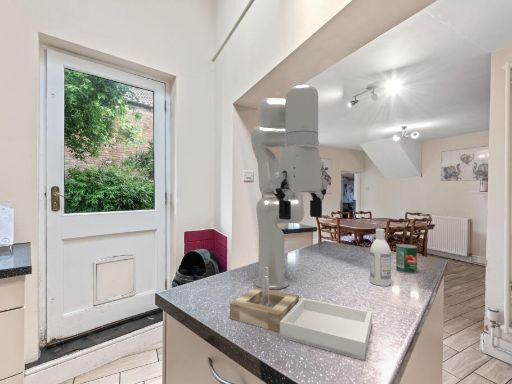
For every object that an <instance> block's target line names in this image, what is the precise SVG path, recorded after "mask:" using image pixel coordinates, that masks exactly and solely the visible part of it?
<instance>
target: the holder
mask: <svg viewBox="0 0 512 384" xmlns="http://www.w3.org/2000/svg"><path fill="white" fill-rule="evenodd" d="M262 296H263V288H260V287H257V286H255V287H253V288H251V289H250V290H248V291H247V292H245V293H243V294H242V295H241V296H239V297H238V298H236V299H234V300H233V301H231V302H230V303H229V319H230V320H232V321H237V322H241V323H244V324H249V325H251V326H255V327H259V328H263V329H267V330H271V331H274V332H277V333H280V321H281V320H282V319H283V318H284V317H285V316H286V315H287V313H288V312H289V311H290V310H291V309H292V308H293V307H294V306H295V305H296V304H297V303H298V302H299V301H300V297H299V296H300V295H299V294H294V293H287V292H282V291H278V290H274V289H269V302H270V303H272V304H273V305H274V307H273V308H272V307H268V306H263V305H259V303H261V302H263V301H262V300H263V299H262V298H263V297H262Z"/></svg>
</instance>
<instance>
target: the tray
mask: <svg viewBox="0 0 512 384" xmlns="http://www.w3.org/2000/svg"><path fill="white" fill-rule="evenodd" d="M372 327H373V311H371V310H366V309H361V308H358V307H357V308H356V307H352V306H346V305H341V304H336V303H333V302H332V303H330V302H326V301H321V300H315V299H311V298H310V299H309V298H304V297H301V299H299V302H298V303H297V304H296V305H295V306H294V307H293V308H292V309H291V310H290V311H289V312H288V313H287V315H286V316H285V317H284V318H283V319H282V320H281V321H280V332H279V338H281V339H286V340H289V341H292V342H296V343H299V344H303V345H307V346H311V347H314V348H318V349H320V350H325V351H328V352H332V353H335V354H338V355H342V356H345V357H350V358H353V359H356V360H360V361H363V362H365V361H366V357H367V351H368V347H369V343H370V337H371V333H372Z"/></svg>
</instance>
